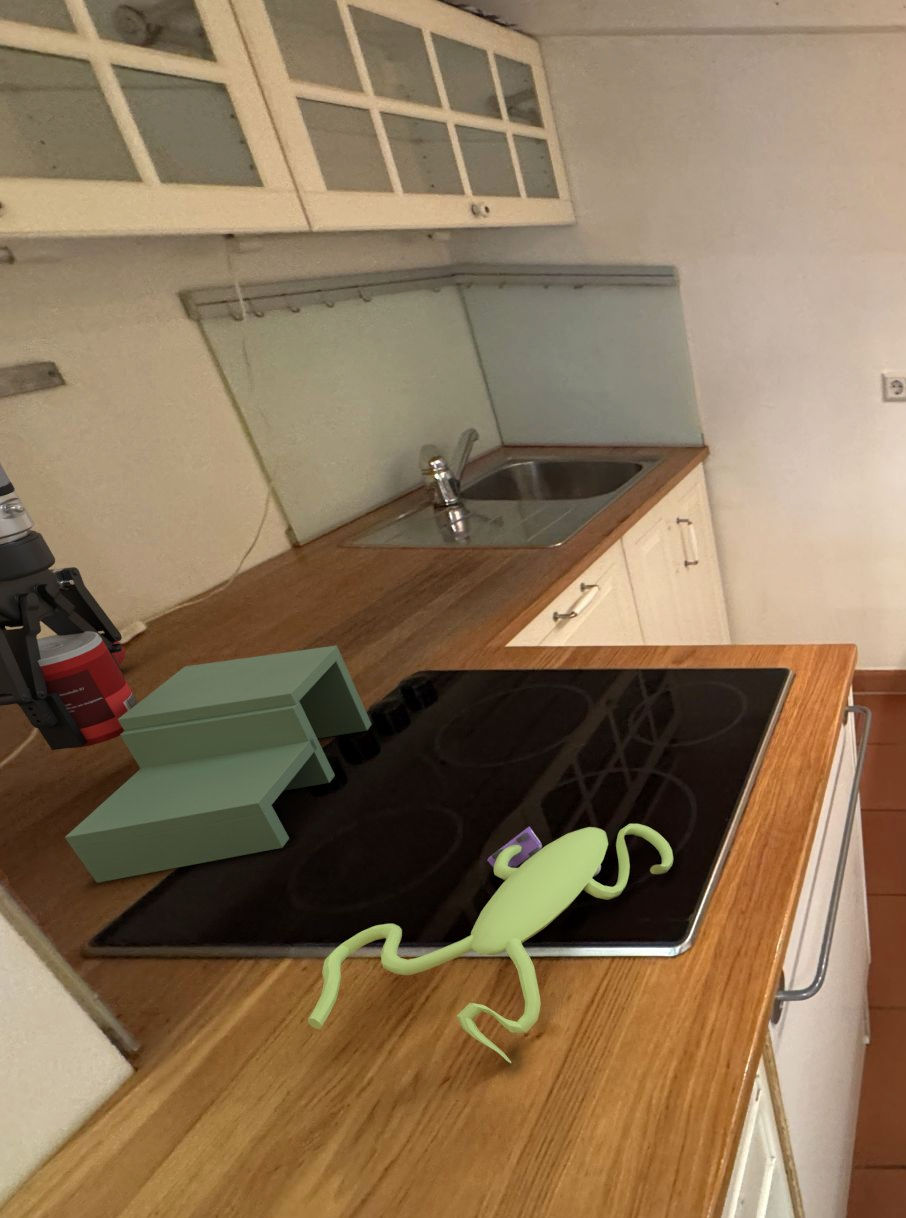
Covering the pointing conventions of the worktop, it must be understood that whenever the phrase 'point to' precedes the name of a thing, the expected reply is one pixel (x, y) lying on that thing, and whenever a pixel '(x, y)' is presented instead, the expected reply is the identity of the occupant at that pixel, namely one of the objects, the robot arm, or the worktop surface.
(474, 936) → the figurine
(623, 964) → the worktop surface
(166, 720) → the step rack
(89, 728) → the canned food
